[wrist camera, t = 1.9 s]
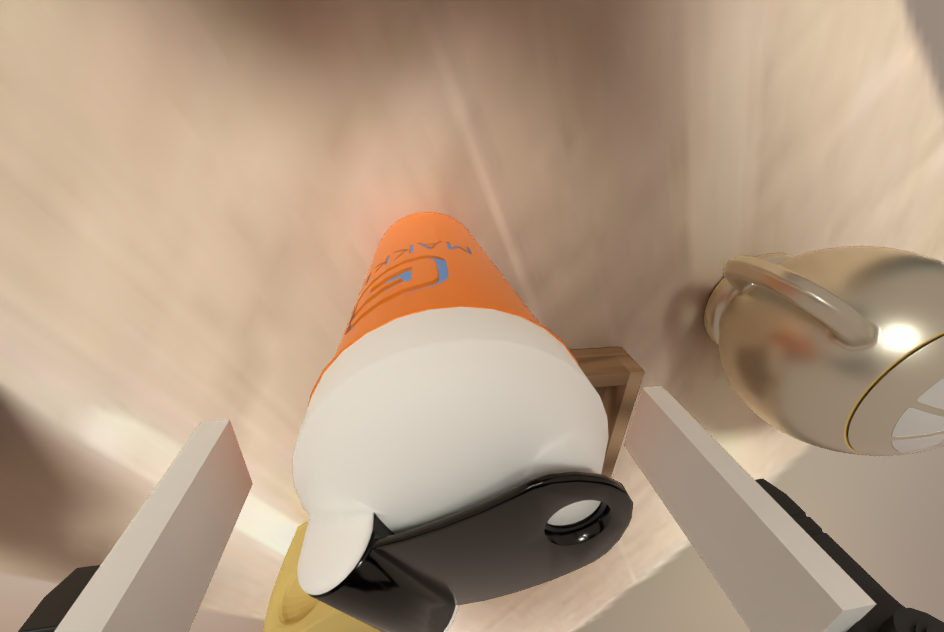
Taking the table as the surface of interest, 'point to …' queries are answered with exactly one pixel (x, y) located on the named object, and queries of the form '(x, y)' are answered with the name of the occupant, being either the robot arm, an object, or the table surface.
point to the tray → (612, 391)
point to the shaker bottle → (448, 443)
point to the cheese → (303, 602)
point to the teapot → (837, 346)
